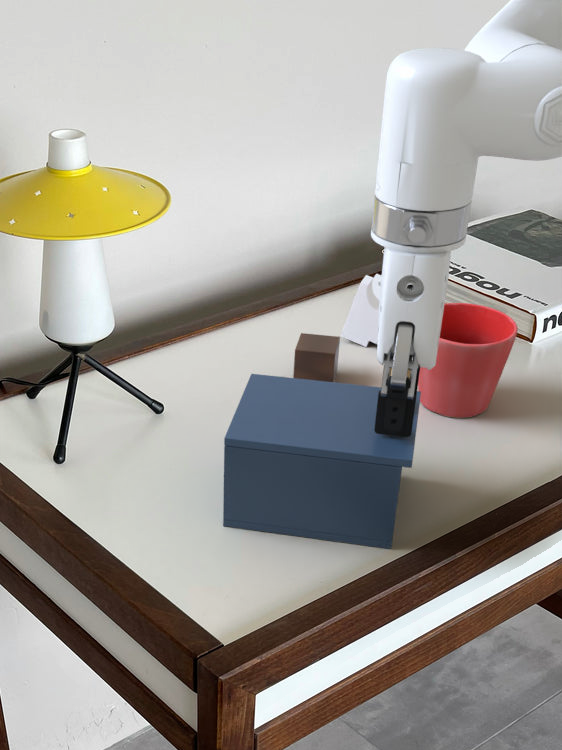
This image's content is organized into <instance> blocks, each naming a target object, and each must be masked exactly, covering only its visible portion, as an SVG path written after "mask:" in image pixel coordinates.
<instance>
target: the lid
mask: <svg viewBox="0 0 562 750" xmlns="http://www.w3.org/2000/svg"><path fill="white" fill-rule="evenodd" d="M410 373H411V370H407V377H409V379H410ZM391 375H392V369H391ZM381 388H382V386H371V385H363V384H354V383H346V382H345V383H344V382H336V381H334V382H326V381H316V380H307V379H297V378H293V377H287V376H277V375H270V374H269V375H268V374H259V373H251V374H250V376H249V378H248V381H247V383H246V385H245V388H244V390H243V392H242V395H241V398H240V399H239V402H238V405H237V407H236V410H235V411H234V414H233V417H232V419H231V421H230V424H229V425H228V428H227V430H226V433H225V436H224V438H223V442H224V443H223V444H224V445H223V446H233V447H242V448H250V449H258V450H267V451H275V452H283V453H291V454H300V455H308V456H316V457H325V458H333V459H341V460H349V461H358V462H366V463H374V464H383V465H391V466H399V467H402V468H408V469H410V468H411V469H412V468H413V460H414V453H415V445H416V437H417V428H418V419H419V413H420V405H421V402H420V396H421V391H418V390H417V396H416V404H415V411H414V418H413V426H412V433H411V436H409V437H400V436H392V435H383V434H377V433H375V431H374V428H375V420H376V411H377V402H378V393H379V391H381Z"/></svg>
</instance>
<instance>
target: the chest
mask: <svg viewBox="0 0 562 750" xmlns="http://www.w3.org/2000/svg"><path fill="white" fill-rule="evenodd" d="M402 473H403V467H399V466H391V465H383V464H374V463H366V462H358V461H349V460H341V459H333V458H325V457H316V456H308V455H300V454H291V453H283V452H275V451H267V450H258V449H250V448H242V447H233V446H225V445H223V501H222V502H223V508H222V510H223V511H222V512H223V513H222V516H223V517H222V526H223V527H228V528H233V529H242V530H248V531H257V532H265V533H270V534H271V533H272V534H278V535H285V536H293V537H301V538H307V539H316V540H323V541H328V542H329V541H330V542H336V543H337V542H338V543H345V544H351V545H359V546H367V547H374V548H381V549H388V550H389V549H390V550H391V549H392V544H393V538H394V532H395V531H394V530H395V523H396V515H397V509H398V502H399V501H398V500H399V494H400V486H401V479H402Z"/></svg>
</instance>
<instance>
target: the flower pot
mask: <svg viewBox="0 0 562 750" xmlns="http://www.w3.org/2000/svg"><path fill="white" fill-rule="evenodd" d="M518 328H519V327H518V325H517V323H516V321H515V320H514V319H513V317H511V316H509V315H508V314H506V313H505V312H503V311H501V310H499V309H497V308H492V307H489V306H486V305H481V304H477V303H468V302H467V303H466V302H447V303H446V302H445V305H444V312H443V318H442V325H441V332H440V338H439V345H438V351H437V358H436V365H435V366H434V367H433V368H432V369H430V370H427V368H424V367H420V373H419V380H418V387H417V391H421V396H420V404H421V405H422V406H423V407H424V408H426V409H427V410H428V411H430V412H433V413H436V414H439V415H441V416H444V417H449V418H455V419H457V418H458V419H459V418H460V419H464V418H465V419H467V418H472V417H476V416H479V415H480V414H483V413H484V412H485V411H487V409H488V408H489V406H490V404H491V401H492V399H493V396H494V394H495V391H496V389H497V387H498V385H499V381H500V380H501V376H502V374H503V372H504V369H505V367H506V365H507V361H508V360H509V357H510V354H511V352H512V349H513V346H514V344H515V341H516V339H517V335H518V332H519V331H518V330H519V329H518ZM418 364H419V363H418Z"/></svg>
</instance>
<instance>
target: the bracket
mask: <svg viewBox="0 0 562 750" xmlns="http://www.w3.org/2000/svg"><path fill="white" fill-rule="evenodd" d="M381 278H382V274H379V273H376V274H374V276H370V275H367V274H365V276H364V277H363V278H362V280H361V281H360V283H359V286H358V288H357V290H356V293H355V295H354V298H353V301H352V304H351V307H350V308H349V311H348V314H347V316H346V319H345V322H344V324H343V327H342V329H341V333H340V336H339V337H342V338H344V339H347V340H349V341H351V342H353V343H356V344H358V345H360V346H363V347H365V348H367V347H368V345H369V343H370V342H371V343H373V344H375V345H377V341H378V316H379V301H380V288H381Z"/></svg>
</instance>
